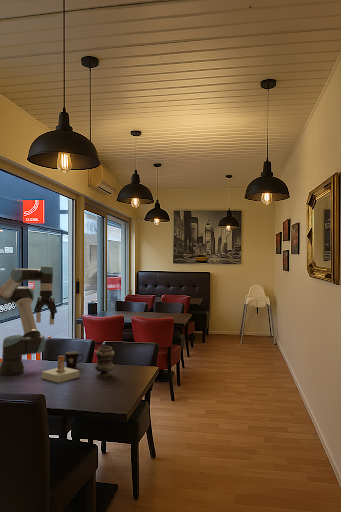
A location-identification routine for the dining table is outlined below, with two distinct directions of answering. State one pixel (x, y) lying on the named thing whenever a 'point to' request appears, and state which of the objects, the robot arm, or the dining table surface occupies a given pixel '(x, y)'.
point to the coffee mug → (72, 359)
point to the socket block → (60, 374)
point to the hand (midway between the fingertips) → (44, 323)
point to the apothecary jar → (104, 361)
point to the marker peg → (61, 364)
